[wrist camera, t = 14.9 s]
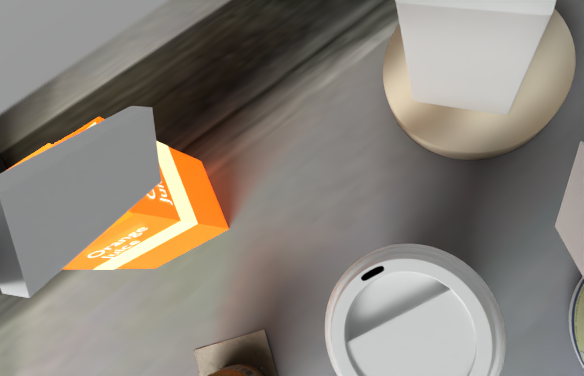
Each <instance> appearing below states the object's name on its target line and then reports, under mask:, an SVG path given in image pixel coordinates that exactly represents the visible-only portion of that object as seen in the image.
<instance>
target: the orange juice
mask: <svg viewBox="0 0 584 376" xmlns="http://www.w3.org/2000/svg"><path fill="white" fill-rule="evenodd" d="M103 120H105V119H103V118H101V117H98V118H96V119H94V120H93V121H91V122H90V123H88V124H86V125H85V126H83V127H82V128H80V129H79V130H77V131H75V132H74V133H72V134H70V135H69V136H67V137H65V138H63V139H61V140H60V141H58V142H56V143H54V144H53V145H51V144H50V143H48V144H47V145H45V146H43V147H42V148H40V149H39V150H37V151H36V152H34V153H32V154H31V155H29V156H28V157H26V158H25V159H23V160H22V161H20V162H18V163H17V164H15V165H14V166H16V165H18V164H20V163H22V162H24V161H25V160H27V159H29V158H31V157H33V156H35V155H37V154H39V153H41V152H43V151H45V150H47V149H49V148H51V147H53V146H55V145H57V144H58V143H60V142H62V141H64V140H66V139H68V138H70V137H72V136H74V135H76V134H78V133H80V132H82V131H84V130H86V129H88V128H89V127H91V126H93V125H95V124H97V123H99V122H101V121H103ZM156 143H157V151H158V159H159V167H160V175H161V183H159V184H158V185H157V186H156V187H155V188H154V189H153V190H151V191H150V192H149V193H148V194H147V195H146V196H145V197H144V198H142V199H141V200H140V201H139V202H138V203H137V204H136V205H135V206H133V207H132V208H131V209H130V210H129V211H128V212H127V213H125V214H124V215H123V216H122V217H121V218H120V219H119V220H118V221H116V222H115V223H114V224H113V225H112V226H111V227H110V228H108V229H107V230H106V231H105V232H104V233H103V234H102V235H101V236H99V237H98V238H97V239H96V240H95V241H94V242H93V243H92V244H90V245H89V246H88V247H87V248H86V249H85V250H84V251H82V252H81V253H80V254H79V255H78V256H77V257H76V258H75V259H73V260H72V261H71V262H70V263H69V264H68V265H67V266H66V267H64V268H63V269H93V270H105V269H146V268H157V267H159V266H160V265H162V264H164V263H166V262H168V261H170V260H172V259H174V258H175V257H177V256H179V255H181V254H183V253H185V252H187V251H189V250H190V249H192V248H194V247H196V246H198V245H200V244H202V243H204V242H205V241H207V240H209V239H211V238H213V237H215V236H217V235H219V234H220V233H222V232H224V231H226V230H228V229H229V228H228V226H227V223H226V221H225V218H224V216H223V213H222V211H221V208H220V206H219V204H218V201H217V199H216V196H215V194H214V191H213V189H212V186H211V184H210V182H209V179H208V177H207V174H206V172H205V169H204V167H203V164H202V162H201V161H200V160H197V159H195V158H193V157H191V156H188V155H186V154H184V153H181V152H179V151H177V150H174V149H172V148H170V147H168V146H167V145H165V144H162V143H160V142H158V141H156ZM14 166H12V167H14ZM12 167H11V168H12ZM9 169H10V168H9ZM7 170H8V169H7Z"/></svg>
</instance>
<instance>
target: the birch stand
mask: <svg viewBox="0 0 584 376" xmlns="http://www.w3.org/2000/svg"><path fill="white" fill-rule="evenodd" d="M575 64H576V62H575V48H574V43H573V39H572V36H571V33H570V31H569V28H568V27H567V25H566V23H565V21H564V19H563V18H562V17H561V15H560V14H559V13H558V12H557V10H556V9H555V8H554V10H553V13H552V15H551V17H550V20H549V22H548V24H547V26H546V29H545V31H544V33H543V36H542V38H541V40H540V42H539V45H538V47H537V49H536V52H535V54H534V56H533V58H532V61H531V63H530V65H529V68H528V70H527V72H526V75H525V77H524V79H523V81H522V84H521V86H520V88H519V91H518V93H517V95H516V97H515V100H514V102H513V104H512V107H511V109H510V111H509V113H508V115H499V114H493V113H486V112H480V111H473V110H467V109H461V108H454V107H448V106H441V105H435V104H428V103H422V102H417V101H414V100H413V97H412V92H411V86H410V80H409V74H408V69H407V63H406V57H405V52H404V46H403V40H402V34H401V29H400V24H399V25H398V27H397V28H396V30H395V32H394V33H393V35H392V37H391V39H390V42H389V44H388V47H387V50H386V53H385V58H384V64H383V81H384V88H385V92H386V96H387V99H388V102H389V105H390V108H391V110H392V113H393V115H394V117H395V119H396V121H397V122H398V124H399V126H400V127H401V128H402V129H403V131H404V132H405V133H406V134H407V135H408V136H409V137H410V138H411V139H412V140H413V141H415V142H416V143H417V144H419V145H420V146H421V147H423V148H425V149H427V150H429V151H431V152H433V153H436V154H438V155H441V156H444V157H448V158H453V159H460V160H480V159H488V158H493V157H497V156H501V155H503V154H506V153H509V152H511V151H513V150H515V149H517V148H519V147H521V146H523V145H524V144H526V143H527V142H529V141H530V140H532V139H533V138H534V137H535V136H536V135H537V134H539V133H540V132H541V131H542V130H543V129H544V127H545V126H546V125H547V124H548V123H549V122H550V120H551V119H552V118H553V116H554V115H555V114H556V112H557V111H558V109H559V108H560V106H561V105H562V103H563V102H564V100H565V99H566V96H567V94H568V92H569V90H570V88H571V84H572V81H573V77H574V72H575Z"/></svg>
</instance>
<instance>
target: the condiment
mask: <svg viewBox="0 0 584 376" xmlns="http://www.w3.org/2000/svg"><path fill="white" fill-rule="evenodd" d="M194 352H195V356H196V361H197V365H198V370H199V374H200V376H277V373H276V370H275V367H274V362H273V358H272V354H271V350H270V347H269V344H268V341H267V337H266V333H265V330H264V329H263V330H259V331H257V332H253V333H250V334H246V335H243V336H239V337H236V338H233V339H230V340H226V341H224V342H220V343H217V344H213V345H210V346H207V347H203V348H200V349H197V350H194ZM221 364H222V367H221V368H220V365H221ZM261 367H263V369H261ZM219 369H220V370H219ZM218 370H219V371H218Z"/></svg>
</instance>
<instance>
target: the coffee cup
mask: <svg viewBox="0 0 584 376" xmlns="http://www.w3.org/2000/svg"><path fill="white" fill-rule="evenodd" d="M325 339H326V346H327V350H328V354H329V357H330V360H331V363H332V366H333V368H334V370H335V372H336V374H337V376H500V374H501V371H502V368H503V365H504V361H505V354H506V331H505V325H504V320H503V316H502V313H501V310H500V308H499V305H498V303H497V301H496V299H495V297H494V295H493V293H492V292H491V290H490V288H489V287H488V286H487V284H486V283H485V282H484V280H483V279H482V278H481V277H480V276H479V275H478V274H477V273H476V272H475V271H474V270H473V269H472V268H471V267H470V266H468V265H467V264H466V263H465V262H463V261H462V260H460V259H459V258H457V257H455V256H454V255H452V254H450V253H448V252H445V251H443V250H440V249H438V248H434V247H431V246H426V245H421V244H396V245H390V246H386V247H382V248H379V249H377V250H374V251H372V252H370V253H368V254H366V255H364V256H363V257H361V258H360V259H358V260H357V261H356V262H355V263H353V264H352V265H351V266H350V267H349V268H348V269H347V270H346V271H345V272H344V274H343V275H342V276H341V278H340V279H339V280H338V282H337V284H336V285H335V287H334V289H333V291H332V294H331V296H330V299H329V302H328V306H327V310H326V316H325Z"/></svg>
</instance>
